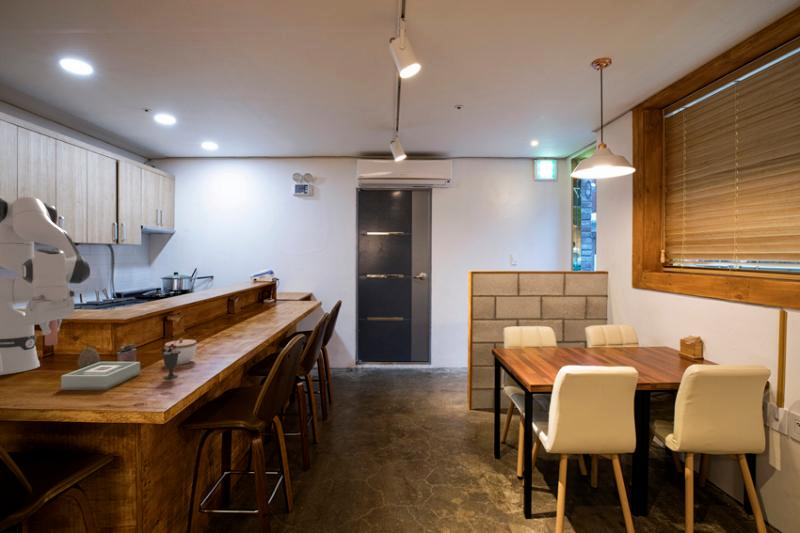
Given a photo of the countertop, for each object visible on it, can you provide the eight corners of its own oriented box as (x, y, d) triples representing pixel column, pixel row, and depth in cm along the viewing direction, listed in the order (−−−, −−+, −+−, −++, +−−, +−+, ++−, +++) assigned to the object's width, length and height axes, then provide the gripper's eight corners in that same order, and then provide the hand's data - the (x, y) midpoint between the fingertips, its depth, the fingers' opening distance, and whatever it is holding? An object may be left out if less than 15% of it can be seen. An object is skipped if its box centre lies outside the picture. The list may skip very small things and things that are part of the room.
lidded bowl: (174, 358, 173) (174, 335, 173) (201, 358, 174) (201, 335, 174) (158, 366, 161) (158, 341, 160) (188, 366, 161) (188, 341, 161)
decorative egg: (102, 370, 154) (102, 346, 154) (81, 374, 149) (80, 350, 148) (96, 367, 158) (96, 344, 158) (75, 371, 152) (75, 347, 152)
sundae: (184, 376, 148) (184, 339, 147) (166, 381, 142) (166, 343, 142) (175, 373, 151) (175, 337, 151) (157, 378, 145) (157, 341, 145)
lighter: (121, 371, 154) (121, 347, 153) (115, 370, 154) (114, 347, 154) (138, 365, 161) (138, 343, 161) (132, 364, 162) (132, 342, 162)
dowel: (42, 345, 128) (42, 317, 128) (52, 343, 131) (52, 315, 131) (50, 345, 127) (49, 317, 127) (59, 343, 131) (59, 316, 130)
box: (61, 389, 132) (61, 375, 132) (100, 373, 150) (100, 361, 150) (106, 389, 132) (106, 376, 132) (140, 373, 150) (140, 361, 150)
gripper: (41, 297, 120) (41, 338, 120) (78, 291, 139) (78, 327, 140) (17, 297, 118) (18, 339, 118) (58, 291, 138) (58, 327, 138)
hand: (51, 332), depth 129 cm, fingers closed on dowel, 3 cm apart
